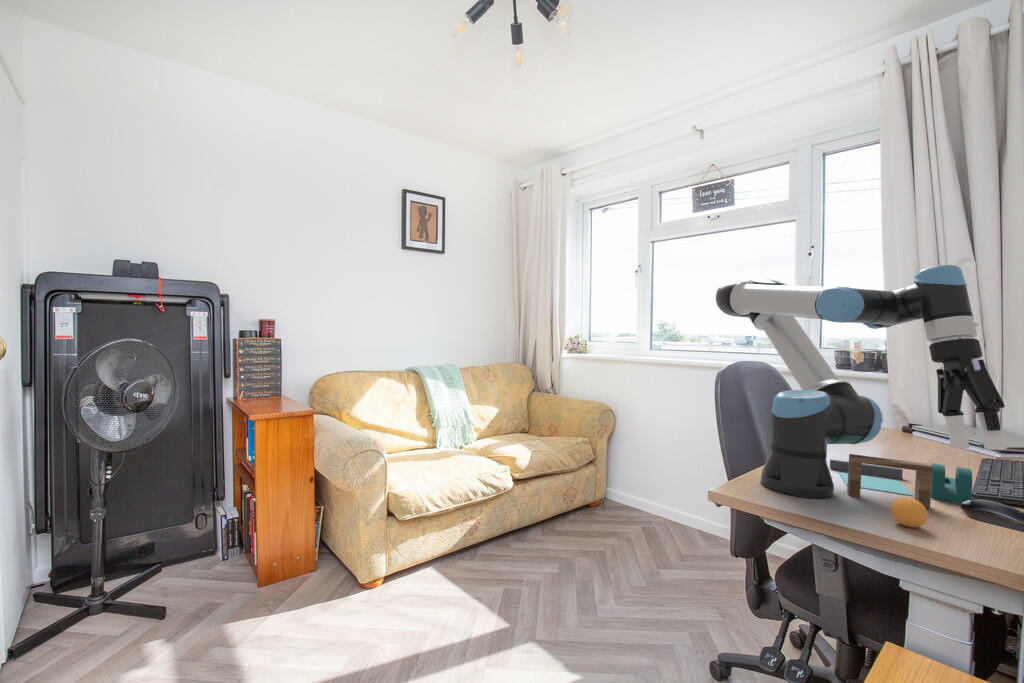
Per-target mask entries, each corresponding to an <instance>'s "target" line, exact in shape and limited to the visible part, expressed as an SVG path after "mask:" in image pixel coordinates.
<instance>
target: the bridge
mask: <svg viewBox="0 0 1024 683" xmlns="http://www.w3.org/2000/svg"><path fill="white" fill-rule="evenodd" d="M848 462H849V468H848V472H847V473H848V486H846V487H847V488H846V489H847V490H846V492H847V495H848V496H849V497H854V498H860V497H861V488H860V487H861V475H862V474H861V470H862V463H863V464H871V465H878V466H886V467H893V468H901V469H902V470H911V471H915V481H914V482H915V483H914V485H915V486H914V496H913V497H914V498H913V499H915V500H917V501H919V502H920V503H921V504H922V505H923V506H924V507H925V508H926V509H928V508H930V509H931V500H932V499H931V483H932V466H931V464H929V463H923V462H915V461H910V460H909V461H908V460H902V459H893V458H886V457H885V458H884V457H877V456H876V457H875V456H868V455H861V454H852V453H849V454H848Z"/></svg>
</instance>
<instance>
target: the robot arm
mask: <svg viewBox="0 0 1024 683" xmlns="http://www.w3.org/2000/svg"><path fill="white" fill-rule="evenodd" d="M913 276H914V279H913V280H914V281H913V283H914V284H911V285H908V286H906V287H901V288H898V289H894V290H881V289H880V290H878V289H877V290H876V289H866V288H864V289H863V288H856V287H854V288H853V287H849V286H848V287H847V286H846V287H845V286H835V287H827V286H826V287H825V286H802V285H801V286H799V285H788V284H787V283H785V282H783V281H782V282H781V281H778V280H774V279H757V278H745V277H737V278H736V277H735V278H730V279H728V280H726V281H724V282H722V284H721V285H720V286H719V287H718V288H717V291H716V294H715V302H716V305H717V308H718V309H719V310H720V311H721V312H722V313H723V314H726V315H727V316H731V317H738V318H748V319H750V321H751V323H752V324H753V326H754V328H755V329H757V330H759V331H764V333H765V334H766V336H767V337H768V338H769V341H770V342H771V344H772V345H773V347H774V348H775V350H776V352H777V353H778V355H779V356H780V357H781V359H782V361H783V362H784V364H785V365H786V367H787V368H788V370H789V372H790V374H791V375H792V376H793V378H794V380H795V381H796V383H797V384H798V386H799V387H800V389H791V390H789V389H788V390H784V391H781V392H778V393H776V394H775V395H774V396H773V397H774V398H773V402H772V408H771V422H770V423H771V424H770V425H771V426H770V427H771V428H770V449H769V450H770V451H769V454H768V456H767V459H766V461H765V463H764V466H763V467H762V470H761V473H760V474H761V475H760V483H761V484H762V485H763V486H764V487H766V488H768V489H770V490H774V491H776V492H779V493H782V494H786V495H791V496H794V497H795V496H796V497H801V498H807V499H808V498H811V499H827V498H832V497H833V496H834V492H835V485H834V482H833V478H832V475H831V471H830V468H829V466H828V462H827V457H828V456H827V454H828V453H827V451H828V445H845V444H847V445H857V444H861V443H862V444H863V443H867V442H871V440H873V439H875V438H876V437H877V436H878V434H880V431H881V430H882V424H883V422H884V421H883V420H884V419H883V412H882V411H881V408H880V406H879V405H878V403H877V402H876V401H874V400H873V399H872V398H869V397H867V396H865V395H859V394H858V393H857V391H856V390H855V389H854V387H853V386H852V384H851V383H850V382H849V381H847V380H840V379H839V378H838V376H837V375H836V374H835V372H834V371H833V370H832V368H831V366H830V365H829V363H827V361H826V360H825V358H824V356H823V355H822V354H821V353H820V351H819V349H818V347H816V345H815V344H814V343H813V341H812V340H811V339H810V337H809V336H808V334H807V333H806V331H805V330H804V328H803V327H802V326H801V325H800V323H799V321H798V320H797V319H796V318H804V319H813V320H822V321H829V322H833V323H841V324H842V323H843V324H845V323H849V324H850V323H852V324H853V323H854V324H855V323H857V324H863V325H864V326H866V327H867V328H869V329H871V330H872V329H873V330H874V329H876V330H877V329H883V328H891V327H893V326H896V325H900V324H906V323H908V322H913V321H917V320H923V326H924V332H925V337H926V341H927V342H928V343H930V344H929V346H928V349H929V354H930V358H931V359H930V360H931V361H932V362H933V363H939V364H940V363H942V364H943V368H937V369H936V371H935V372H936V375H937V376H936V378H937V412H938V414H942V415H943V417H944V421H945V424H946V428H947V434H948V439H949V443H950V444H949V445H950V448H951V449H970V448H971V447H970V444H969V443H970V442H969V438H968V434H967V430H966V424H965V420H964V415H965V413H964V412H963V411H962V410H961V408H962V402H963V395H964V391H965V392H966V394H967V395H968V396H969V398H970V400H971V401H972V402H973V404H974V406H975V409H974V413H975V414H976V417H977V421H978V425H979V430H980V434H981V438H982V443H983V448H984V450H985V451H989V450H990V451H992V450H993V451H994V450H995V451H998V450H1000V451H1001V450H1002V451H1003V450H1008V448H1007V444H1006V440H1005V436H1004V432H1003V431H1004V430H1003V429H1002V428H1003V427H1002V422H1001V420H1000V416H999V415H1000V414H999V412H1000V410H1001V409H1005V406H1006V405H1005V402H1004V400H1003V399H1002V397H1001V394H1000V393H999V391H998V390H997V387H996V385H995V384H994V382H993V380H992V378H991V376H990V374H989V373H988V370H987V367H986V364H985V361H984V359H981V358H982V357H983V351H982V347H981V346H982V345H981V342H980V340H979V339H977V338H976V337H977V336H978V332H977V327H978V326H979V324H978V323H977V322H975V318H974V315H973V312H972V307H971V302H970V298H969V293H968V288H967V286H968V284H967V282H966V280H965V278H964V274H963V270H962V268H961V267H959V266H958V265H955V264H941V265H934V266H930V267H926V268H922V269H921V270H919V271H917V272H916V273H914V275H913Z"/></svg>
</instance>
